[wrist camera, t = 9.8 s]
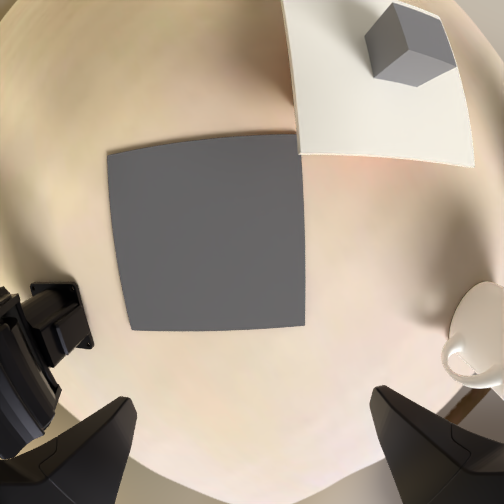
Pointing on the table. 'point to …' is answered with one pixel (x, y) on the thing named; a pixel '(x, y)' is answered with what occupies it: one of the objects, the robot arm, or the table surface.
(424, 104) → the lid
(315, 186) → the table surface
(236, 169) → the mat
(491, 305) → the mug
